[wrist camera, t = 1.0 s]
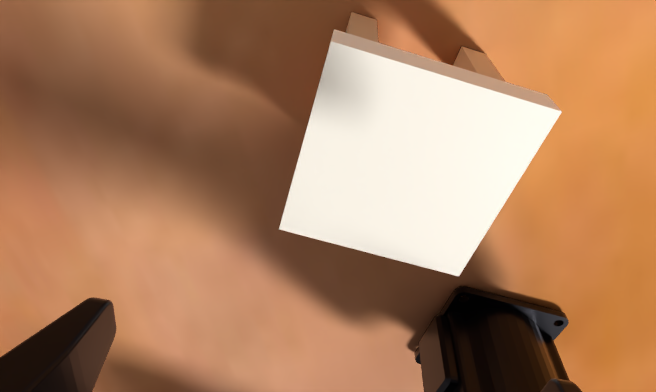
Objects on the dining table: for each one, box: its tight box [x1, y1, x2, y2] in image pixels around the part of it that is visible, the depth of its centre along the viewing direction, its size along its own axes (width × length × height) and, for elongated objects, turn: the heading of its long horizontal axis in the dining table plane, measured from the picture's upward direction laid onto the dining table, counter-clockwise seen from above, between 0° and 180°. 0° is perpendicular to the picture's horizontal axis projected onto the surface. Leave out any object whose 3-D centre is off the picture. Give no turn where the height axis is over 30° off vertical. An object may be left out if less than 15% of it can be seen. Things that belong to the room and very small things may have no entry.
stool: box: [279, 12, 562, 276], centre depth 16 cm, size 6×6×6 cm
